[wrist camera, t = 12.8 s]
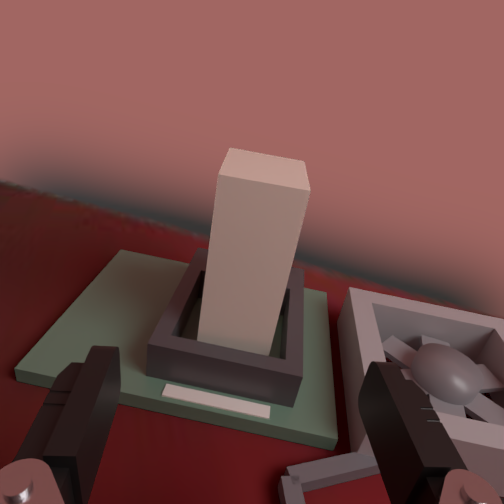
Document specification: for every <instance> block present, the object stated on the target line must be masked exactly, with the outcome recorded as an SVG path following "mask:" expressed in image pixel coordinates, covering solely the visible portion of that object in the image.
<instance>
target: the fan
mask: <svg viewBox="0 0 504 504" xmlns="http://www.w3.org/2000/svg"><path fill="white" fill-rule="evenodd" d="M337 329H338V338H339V348H340V357H341V366H342V375H343V385H344V394H345V403H346V412H347V421H348V431H349V440H350V449H351V453H348V454H343V455H338V456H334V457H329V458H325V459H320V460H316V461H311V462H307V463H302V464H298V465H293V466H288V467H286V470H285V473H284V476H281V478H280V481H279V484H278V486H277V487H278V493H279V499H280V504H305V500H304V496H303V492H307V491H311V490H315V489H319V488H323V487H327V486H331V485H335V484H339V483H343V482H347V481H351V480H355V479H359V478H363V477H367V476H371V475H375V474H379V473H380V470H379V467H378V465H377V462H376V459H375V456H374V453H373V450H372V448H371V445H370V442H369V439H368V436H367V433H366V430H365V428H364V425H363V422H362V419H361V416H360V413H359V408H358V396H359V392H360V389H361V386H362V384H363V381H364V378H365V375H366V372H367V369H368V367H369V364H370V363H371V362H372V361H377V362H386V358H385V357H387V358H388V359H390V360H391V361H393V362H394V363H396V364H397V365H398V366H400V367H401V368H402V369H400V370H401V372H402V373H403V375H404V377H405V379H406V380H413V381H414V382H415V383H416V384H417V385H418V386H419V387H420V388H421V389H422V390H423V391H424V392H425V394H426V395H427V397H428V399H429V401H430V402H431V404H432V406H433V410H435V411H436V413H437V415H438V417H439V419H440V423H442V424H443V426H444V428H445V429H446V431H447V433H448V435H449V437H450V438H451V440H452V442H453V444H454V445H455V447H456V449H457V451H458V453H459V454H460V456H461V458H462V460H463V462H464V463H465V465H466V467H467V469H468V470H469V471H471V472H473V473H475V474H477V475H479V476H480V477H482V478H483V479H484V480H486V481H487V482H488V483H489V484H490V485H491V486H492V487H493V488H494V489H495V491H496V492H497V494H498V495H499V496H501V497H504V319H500V318H495V317H490V316H485V315H481V314H476V313H471V312H466V311H461V310H457V309H452V308H447V307H442V306H437V305H433V304H428V303H423V302H418V301H413V300H409V299H404V298H399V297H394V296H389V295H385V294H380V293H375V292H370V291H366V290H361V289H356V288H351V287H349V289H348V292H347V295H346V298H345V301H344V303H343V306H342V309H341V312H340V315H339V318H338V320H337ZM481 393H489V394H490V396H491V398H492V400H493V401H491V400H490V399H488V398H487V397H485V396H484V395H482V394H481ZM465 413H466V414H468V415H469V416H470V417H472V418H473V419H475V420H473V419H468V418H466V414H465Z"/></svg>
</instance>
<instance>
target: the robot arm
mask: <svg viewBox="0 0 504 504" xmlns="http://www.w3.org/2000/svg"><path fill="white" fill-rule="evenodd" d="M120 390H121V372H120V353H119V347H114V346H96V345H93V346H92V347H91V349H90V351H89V353H88V355H87V357H86V360H85V362H84V363H79V362H71V363H70V364H69V365H68V366H67V367H66V368H65V369H64V370H63V371H61V372H60V373H59V374H58V375H57V377H56V379H55V381H54V383H53V385H52V387H51V389H50V392H49V393H48V395H47V397H46V399H45V401H44V402H43V406H41V408H40V410H39V412H38V414H37V416H36V418H35V420H34V422H33V424H32V426H31V428H30V430H29V432H28V434H27V436H26V438H25V440H24V442H23V444H22V445H21V447H20V449H19V451H18V453H17V455H16V457H15V458H14V460H13V461H12V462H11V463H10V464H9V465H7V466H5V467H3V468H2V469H1V470H0V504H87V503H88V500H89V497H90V494H91V490H92V487H93V484H94V481H95V477H96V474H97V471H98V467H99V464H100V461H101V458H102V454H103V451H104V448H105V444H106V441H107V438H108V435H109V431H110V428H111V425H112V422H113V418H114V415H115V412H116V408H117V405H118V402H119V397H120ZM358 408H359V413H360V416H361V419H362V422H363V425H364V428H365V430H366V433H367V436H368V439H369V442H370V445H371V448H372V450H373V453H374V456H375V459H376V462H377V465H378V467H379V470H380V473H381V476H382V479H383V482H384V485H385V487H386V490H387V493H388V496H389V499H390V502H391V504H504V498H502V497H500V496H499V495H498V494H497V492H496V491H495V489H494V488H493V487H492V486H491V485H490V484H489V483H488V482H487V481H486V480H484V479H483V478H482V477H480V476H479V475H477V474H475V473H473V472H471V471H469V470H468V469H467V467H466V465H465V463H464V462H463V460H462V458H461V456H460V454H459V453H458V451H457V449H456V447H455V445H454V444H453V442H452V440H451V438H450V437H449V435H448V433H447V431H446V429H445V428H444V426H443V424H442V423H440V419H439V417H438V415H437V413H436V411H435V410H433V406H432V404H431V402H430V401H429V399H428V397H427V395H426V394H425V392H424V391H423V390H422V389H421V388H420V387H419V386H418V385H417V384H416V383H415V382H414V381H413V380H406V379H405V377H404V375H403V373H402V372H401V370H400V368H399V366H398V365H397V364H396V363H394V362H377V361H372V362H371V363H370V364H369V367H368V369H367V372H366V375H365V378H364V381H363V384H362V386H361V389H360V392H359V396H358Z"/></svg>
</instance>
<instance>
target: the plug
mask: <svg viewBox="0 0 504 504" xmlns="http://www.w3.org/2000/svg"><path fill="white" fill-rule="evenodd" d="M310 192H311V190H310V185H309V181H308V176H307V171H306V167H305V162H304V161H300V160H295V159H289V158H284V157H278V156H273V155H267V154H261V153H256V152H251V151H245V150H240V149H235V148H229V151H228V153H227V155H226V158H225V160H224V162H223V164H222V167H221V169H220V172H219V174H218V180H217V188H216V196H215V203H214V212H213V219H212V227H211V235H210V243H209V250H208V258H207V266H206V274H205V282H204V289H203V297H202V305H201V313H200V321H199V328H198V336H197V341H200V342H205V343H209V344H214V345H219V346H223V347H228V348H233V349H237V350H242V351H247V352H251V353H256V354H261V355H265V356H269V353H270V349H271V345H272V341H273V337H274V333H275V329H276V325H277V321H278V318H279V314H280V310H281V306H282V302H283V298H284V294H285V290H286V286H287V282H288V278H289V274H290V270H291V266H292V263H293V259H294V255H295V251H296V247H297V243H298V239H299V235H300V231H301V227H302V223H303V219H304V215H305V211H306V207H307V203H308V200H309V196H310Z"/></svg>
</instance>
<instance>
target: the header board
mask: <svg viewBox="0 0 504 504" xmlns="http://www.w3.org/2000/svg"><path fill="white" fill-rule="evenodd" d="M207 258H208V250H207V249H202V248H198V249H197V251H196V252H195V254H194V256H193V258H192V260H191V262H190V264H188V263H183V262H178V261H174V260H169V259H164V258H159V257H154V256H150V255H145V254H140V253H135V252H131V251H126V250H120V251H119V252H118V253H117V254H116V256H115V257H114V258H113V259H112V260H111V261H110V262H109V263H108V264H107V266H106V267H105V268H104V269H103V270H102V271H101V272H100V273H99V274H98V276H97V277H96V278H95V279H94V280H93V281H92V282H91V283H90V285H89V286H88V287H87V288H86V289H85V290H84V291H83V292H82V293H81V295H80V296H79V297H78V298H77V299H76V300H75V301H74V302H73V303H72V305H71V306H70V307H69V308H68V309H67V310H66V311H65V312H64V314H63V315H62V316H61V317H60V318H59V319H58V320H57V321H56V322H55V324H54V325H53V326H52V327H51V328H50V329H49V330H48V331H47V332H46V334H45V335H44V336H43V337H42V338H41V339H40V340H39V341H38V343H37V344H36V345H35V346H34V347H33V348H32V349H31V350H30V351H29V353H28V354H27V355H26V356H25V357H24V358H23V359H22V360H21V362H20V363H19V364H18V365H17V366H16V367H15V368H14V369H15V375H16V380H17V381H19V382H23V383H28V384H32V385H37V386H41V387H46V388H50V389H51V387H52V385H53V383H54V381H55V379H56V377H57V375H58V374H59V373H60V372H61V371H63V370H64V369H65V368H66V367H67V366H68V365H69V364H70V363H71V362H79V363H84V362H85V360H86V357H87V355H88V353H89V351H90V349H91V347H92V346H93V345H96V346H114V347H119V353H120V372H121V390H120V397H119V402H118V404H123V405H127V406H132V407H136V408H141V409H145V410H150V411H155V412H159V413H164V414H168V415H173V416H177V417H182V418H186V419H191V420H195V421H200V422H204V423H209V424H213V425H218V426H223V427H227V428H232V429H236V430H241V431H245V432H250V433H254V434H259V435H263V436H268V437H272V438H277V439H281V440H286V441H290V442H295V443H300V444H304V445H309V446H313V447H318V448H322V449H327V450H331V451H333V450H334V448H335V445H336V443H337V441H338V432H337V420H336V407H335V395H334V382H333V370H332V357H331V344H330V332H329V319H328V307H327V294H326V292H322V291H317V290H312V289H307V288H304V270H303V269H299V268H294V267H291V270H290V274H289V278H288V282H287V286H286V290H285V294H284V298H283V302H282V306H281V310H280V314H279V318H278V321H277V325H276V329H275V333H274V337H273V341H272V345H271V349H270V353H269V356H265V355H261V354H256V353H251V352H247V351H242V350H237V349H233V348H228V347H223V346H219V345H214V344H209V343H205V342H200V341H197V336H198V328H199V321H200V313H201V305H202V297H203V289H204V282H205V274H206V266H207Z"/></svg>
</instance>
